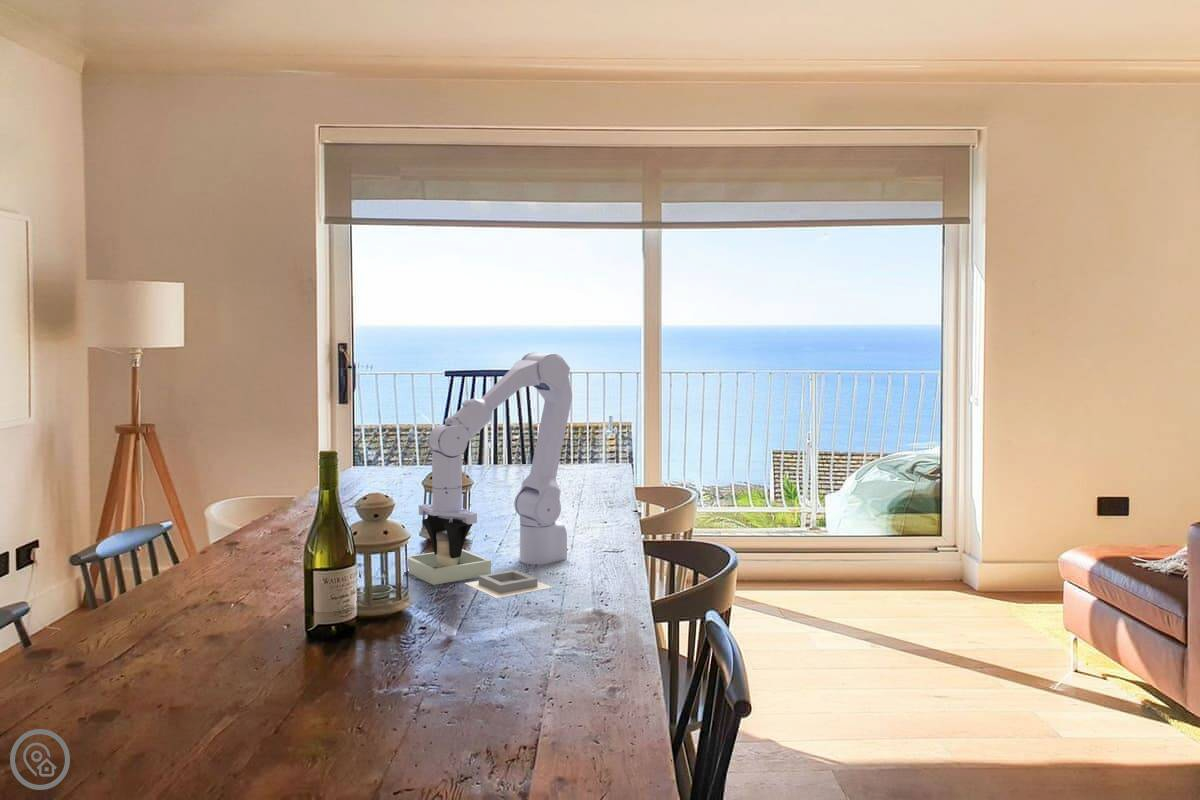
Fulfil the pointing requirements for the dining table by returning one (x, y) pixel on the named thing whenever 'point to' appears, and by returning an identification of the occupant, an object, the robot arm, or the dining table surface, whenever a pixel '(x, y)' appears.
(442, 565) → the strut
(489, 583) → the square socket plate
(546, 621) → the dining table surface
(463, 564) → the bin
